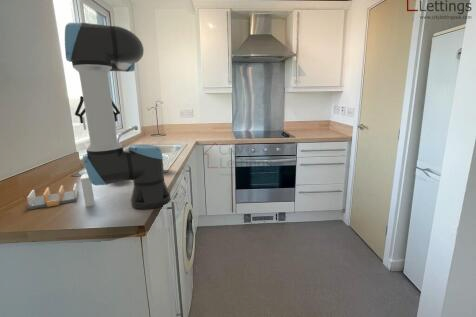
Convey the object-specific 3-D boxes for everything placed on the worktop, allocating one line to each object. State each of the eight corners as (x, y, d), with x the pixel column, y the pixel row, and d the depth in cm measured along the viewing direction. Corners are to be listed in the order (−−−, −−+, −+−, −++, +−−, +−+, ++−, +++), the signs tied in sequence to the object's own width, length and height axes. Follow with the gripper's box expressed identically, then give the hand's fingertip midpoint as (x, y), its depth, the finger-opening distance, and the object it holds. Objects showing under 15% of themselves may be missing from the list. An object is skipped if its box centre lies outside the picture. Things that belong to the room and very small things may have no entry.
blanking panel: (94, 205, 103) (89, 177, 100) (85, 206, 102) (80, 178, 99) (94, 200, 108) (89, 173, 106) (86, 201, 107) (81, 175, 104)
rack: (76, 201, 107) (74, 190, 106) (28, 210, 100) (25, 198, 99) (78, 192, 118) (76, 182, 117) (35, 199, 111) (32, 189, 110)
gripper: (121, 87, 138) (125, 127, 142) (65, 87, 127) (72, 130, 130) (122, 85, 132) (127, 127, 135) (64, 85, 120) (71, 131, 124)
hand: (100, 129), depth 133 cm, fingers open, 13 cm apart
